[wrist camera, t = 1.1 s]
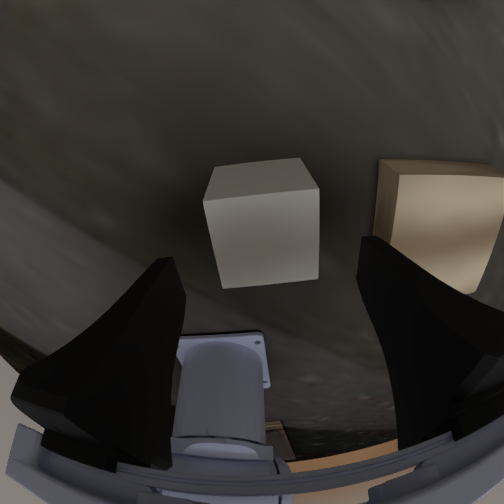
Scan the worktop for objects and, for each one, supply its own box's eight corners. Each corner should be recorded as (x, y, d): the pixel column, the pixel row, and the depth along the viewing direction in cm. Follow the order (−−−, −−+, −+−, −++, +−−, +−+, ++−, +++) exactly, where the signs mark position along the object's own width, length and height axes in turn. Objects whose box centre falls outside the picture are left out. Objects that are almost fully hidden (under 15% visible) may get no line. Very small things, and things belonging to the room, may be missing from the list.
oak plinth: (458, 269, 20) (475, 291, 17) (362, 285, 20) (374, 314, 18) (486, 162, 14) (512, 178, 12) (376, 157, 15) (399, 174, 12)
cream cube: (302, 230, 17) (318, 278, 13) (227, 237, 17) (222, 288, 13) (299, 157, 14) (319, 189, 11) (214, 166, 15) (202, 201, 11)
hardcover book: (282, 416, 35) (283, 430, 33) (294, 449, 48) (295, 458, 46) (179, 421, 37) (177, 434, 35) (222, 454, 49) (222, 463, 48)
